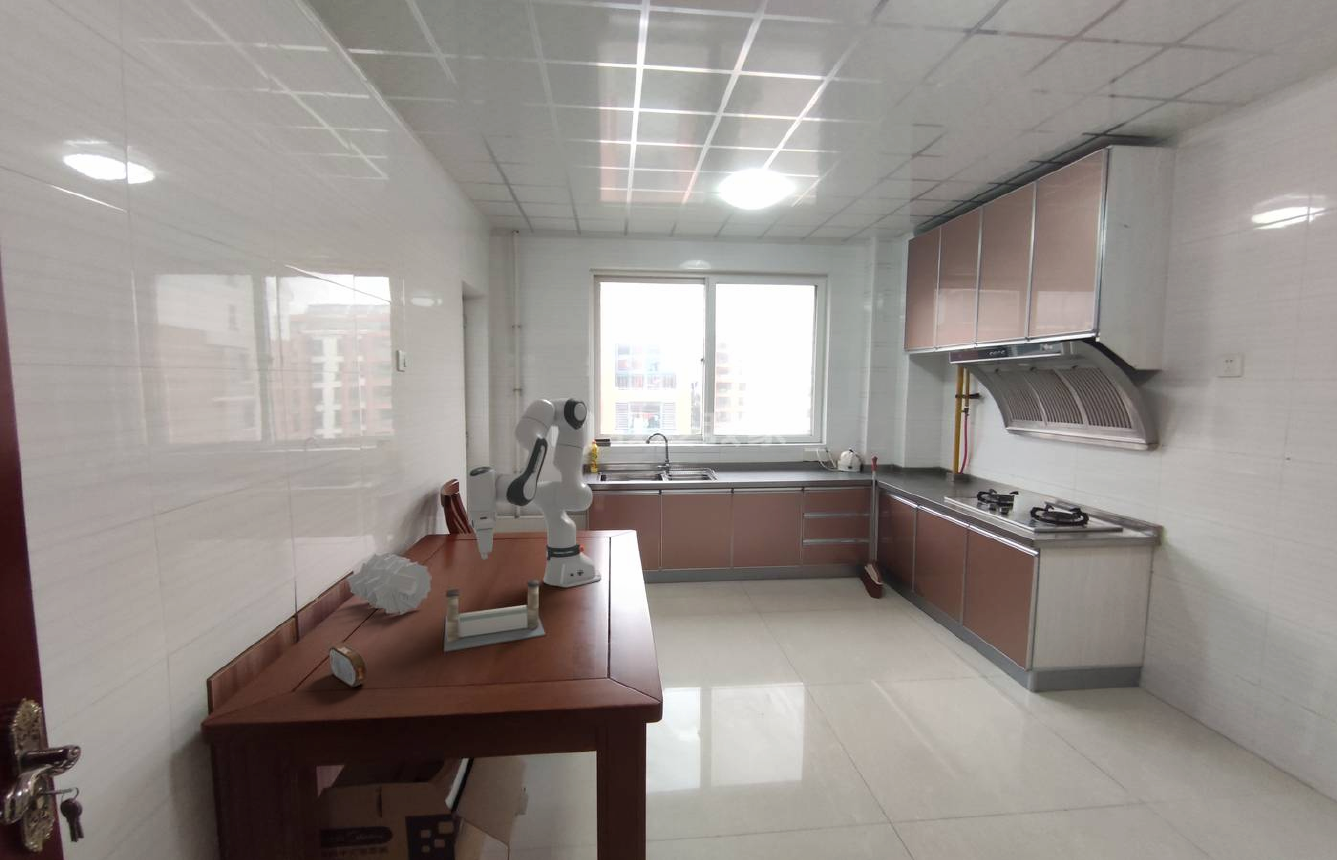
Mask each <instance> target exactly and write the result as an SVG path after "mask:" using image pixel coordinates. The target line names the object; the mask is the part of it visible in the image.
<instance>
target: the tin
mask: <svg viewBox="0 0 1337 860" xmlns="http://www.w3.org/2000/svg"><path fill="white" fill-rule="evenodd" d="M328 656H329V666H330V669H331V671H332V673H333V675H334V676H335V677H336V678H337V679H338V680H340V681H341V682H343V683H344V684H346V685H347V686H348V685H349V686H348V687H350V688H356V687H357V686H360V685H361V684H364V683H366V681H367V678H368V670H367V665H366V663H365V659H364V658H363V657H364V656H362V654H361V653H360V652H359V651H358V650H356V649H354V648H353V647H352V646H350V645H348V644H347V643H345V642H343V641H342V642H340V643H338V644H335V645H334V646H331V647H330V649H329V651H328Z"/></svg>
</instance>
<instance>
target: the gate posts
mask: <svg viewBox="0 0 1337 860" xmlns="http://www.w3.org/2000/svg"><path fill="white" fill-rule="evenodd" d="M526 586H527V605H528V629H536V628H538V616H539V586H540V581H539V579H538V580H537V579H531V580H528V581H527V582H526ZM459 593H460V592H459V589H458V588H457V589H448V590H446V591H445V598H446V616H447V643H448V642H454V641H459V634H458V615H459Z"/></svg>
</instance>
